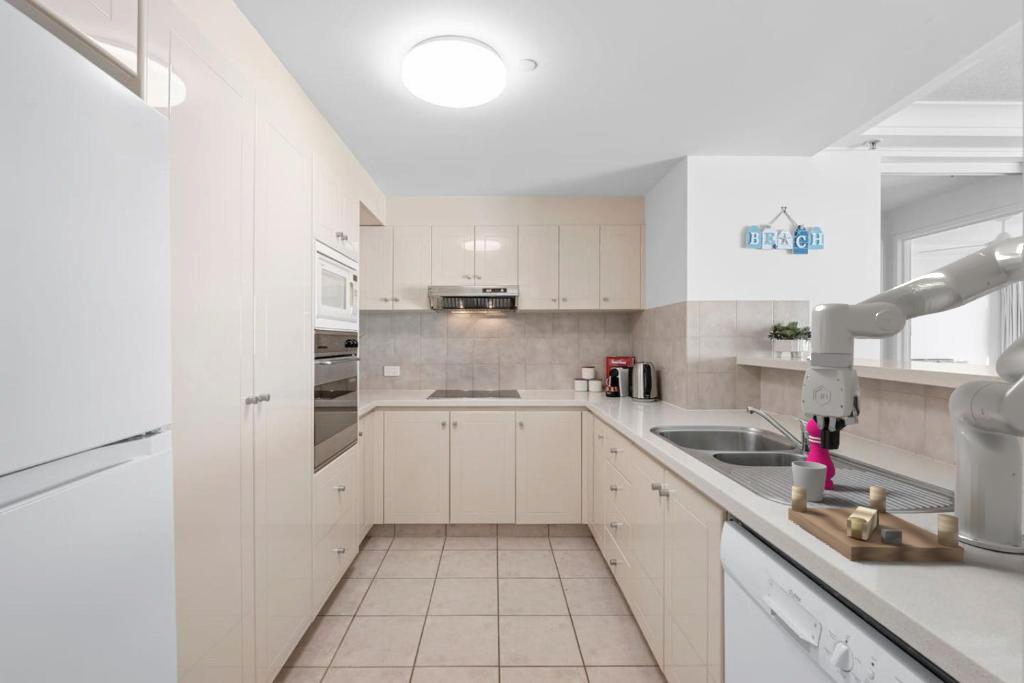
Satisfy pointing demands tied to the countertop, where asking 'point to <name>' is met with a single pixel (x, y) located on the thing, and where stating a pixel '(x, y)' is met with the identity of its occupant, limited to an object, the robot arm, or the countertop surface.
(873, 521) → the folding leg
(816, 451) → the pepper mill
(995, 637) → the countertop surface
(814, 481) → the cup
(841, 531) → the stool seat
